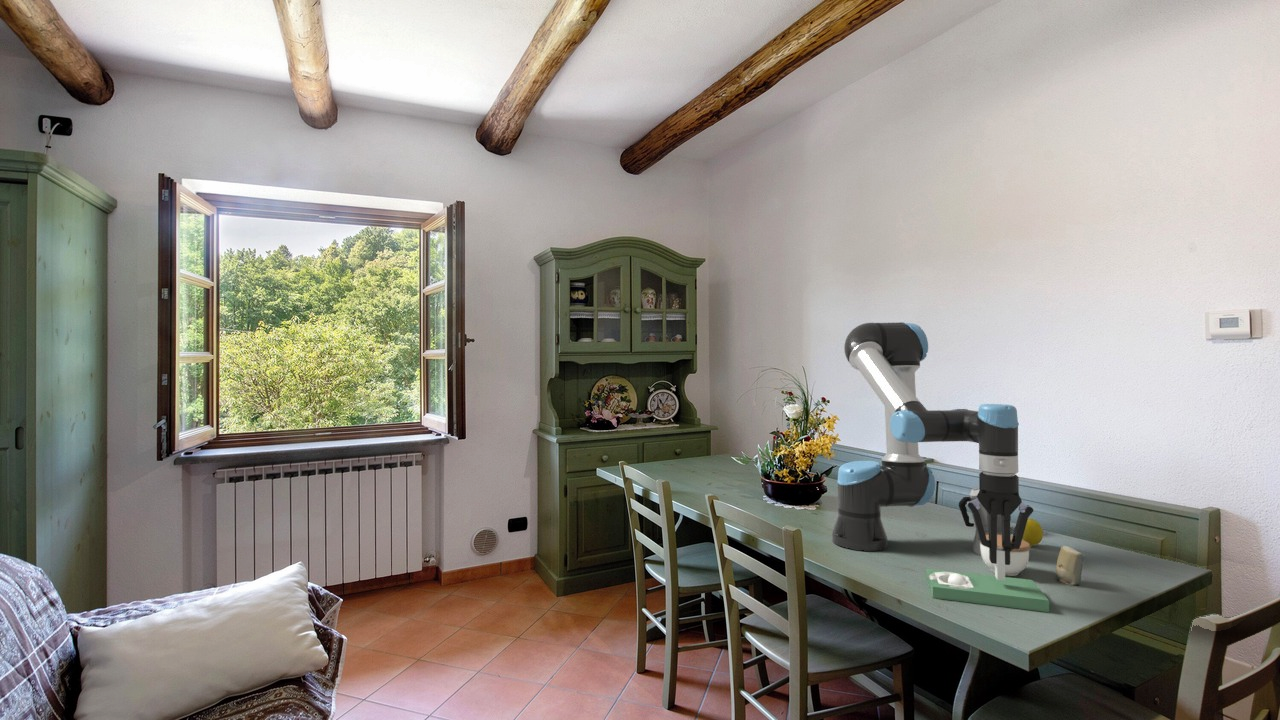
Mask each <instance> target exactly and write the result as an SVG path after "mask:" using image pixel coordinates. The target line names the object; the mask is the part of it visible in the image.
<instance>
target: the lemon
mask: <svg viewBox="0 0 1280 720" xmlns="http://www.w3.org/2000/svg"><path fill="white" fill-rule="evenodd" d="M1043 537H1044V531H1043V528H1042V525H1041V524H1040V523H1039V522H1038V521H1036V519H1035V520H1034V519H1033V518H1031V517H1030V518H1029V517H1028V520H1027V524H1026V527H1025V531H1024V535H1023V538H1022V540H1024V541H1026V542H1028V543H1029V545H1030V547H1033V546H1035V545H1038V544H1039V543H1041V542H1042V540H1043Z"/></svg>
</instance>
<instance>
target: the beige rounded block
mask: <svg viewBox="0 0 1280 720" xmlns="http://www.w3.org/2000/svg"><path fill="white" fill-rule="evenodd" d="M1084 557H1085V556H1084V554H1083V553H1082V552H1080V551H1077V550H1076V549H1074V548H1073V547H1071V546H1068V545H1062V546H1061V547H1060V550H1059V553H1058V556H1057V562H1056V566H1055V573H1056V575H1057V576H1058V579H1059V582H1060V583H1062V584H1066V585H1070V586H1071V587H1080V585H1081V579H1082V572H1083V571H1082V570H1083V563H1084Z"/></svg>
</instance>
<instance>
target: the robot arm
mask: <svg viewBox="0 0 1280 720" xmlns="http://www.w3.org/2000/svg"><path fill="white" fill-rule="evenodd" d="M843 346H844V349H843V350H844V354H845V358H846V360H847V362H848V363H849V364H850V366H851V367H852V368H853V369H855V370H857V371H859V372H860V374H861V375H862V376H863V378H864V379H865V381H866V382H867V383H868V385H869V386H870V387H871V389H872V390H873V391H874V393H875V395H876V396H877V397H878V399H879V400H880V401H881V402H882V404H883V405H884V418H885V419H884V420H885V421H884V422H885V440H886V441H885V446H886V453H885V455H884V456H883V457H882V458H881V464H880V462H878V461H874V460H855V461H850V462H846V463H843V464H841V466H840V467H839V468H838V471H837V508H838V509H837V512H838V513H837V517H836V520H835V524H834V526H833V528H832V531H831V532H832V533H831V540H832V543H834V544H835V545H837V546H839V547H841V546H842V548H844V547H845V549H848V548H850V550H853V551H862V550H864V551H863V552H871V551H873V552H875V551H876V552H877V551H882V550H885V549H886V548H887V547H888V536H887V534H886V533H887V532H886V531H885V527H884V524H883V521H882V517H881V509H882V508H881V507H884V508H885V507H887V508H889V507H911V508H912V507H916V506H923V505H926V504H927V503H928V502H929V501H930V500H931V499H932V498H933V496H934V492H935V489H936V488H935V487H936V480H935V475H934V474H933V472H934V471H933V470H932V469H931V468H930V467H929V466H928V465H926V461H925V459H924V458H923V457H922V455H920V453H919V443H930V442H931V443H933V442H934V443H936V442H942V443H943V442H969V443H975V444H978V454H979V455H978V468H979V469H978V470H979V471H980V473H979V474H978V475H979V476H978V477H979V478H978V481H979V483H978V484H979V485H978V486H979V487H978V488H979V493H978V495H977V498H976V499H974V500H972V501H967V502H966V507H968V508H969V510H970V511H971V514H972V518H973V522H974V526H975V530H976V529H977V533H978V536H979V540H980V542H981V544H982V545H983V546H987V547H989V559H990V561H991V563H994V564H995V573H994V576H995V577H996V578H997V580H1003V581H1005V577H1006V575H1005V565H1010V552H1011V550H1012V549H1019V548H1020V545H1021V542H1022V538H1023V535H1024V531H1025V527H1026V524H1027V520H1028V519H1029V517H1030V516H1031V515H1032V513H1033V512H1034V508H1033V507H1031V505H1029V504H1026V503H1024V501H1022V498H1021V496H1020V493H1019V492H1020V490H1019V488H1020V487H1019V482H1020V481H1019V480H1020V479H1019V476H1018V475H1017V474H1018V473H1019V420H1018V419H1019V418H1018V411H1017V407H1016V406H1014V405H1011V404H1002V403H1001V404H999V403H984V404H983V403H982V404H980V405H978V411H977V410H969V409H967V408H953V409H950V410H949V409H948V410H945V409H944V410H941V409H940V410H939V409H938V410H928V409H927V408H926V407H925V406H924V404H923V403H922V402H921V401H920V399H918V397H917V395H916V394H917V393H916V391H917V390H916V372H917V371H918V370H919V369H920V368H921V362H922V361H924V360H925V359H926V358H927V357H928V356H927V353H929V340H928V337H927V334H926V333H925V331H924V329H923V328H921V326H920V325H918V324H916V323H910V322H865V323H862V324H859V325H857V326H856V327H854V328H853V329H852V330H851V331H850V332H849V334H848V335H847V336H846V338H845V342H844V345H843ZM979 503H981V504H982V506H983V507H984V508H985V509H986V511H987V512H988V520H989V540H987V539H986V535H985V532H984V528H983V524H982V521H981V517H980V514H979V512H978V509H979V508H980V507H979ZM1017 508H1018V511H1019V513H1018V515H1017V520H1016V524H1015V527H1014V530H1013V531H1014V532H1013V535H1012V536H1011V519H1012V514H1013V513H1014V512H1015V511H1016V510H1017ZM997 515H1001V519H1002V548H999V547H997ZM1010 537H1012V541H1011V539H1010Z"/></svg>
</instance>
